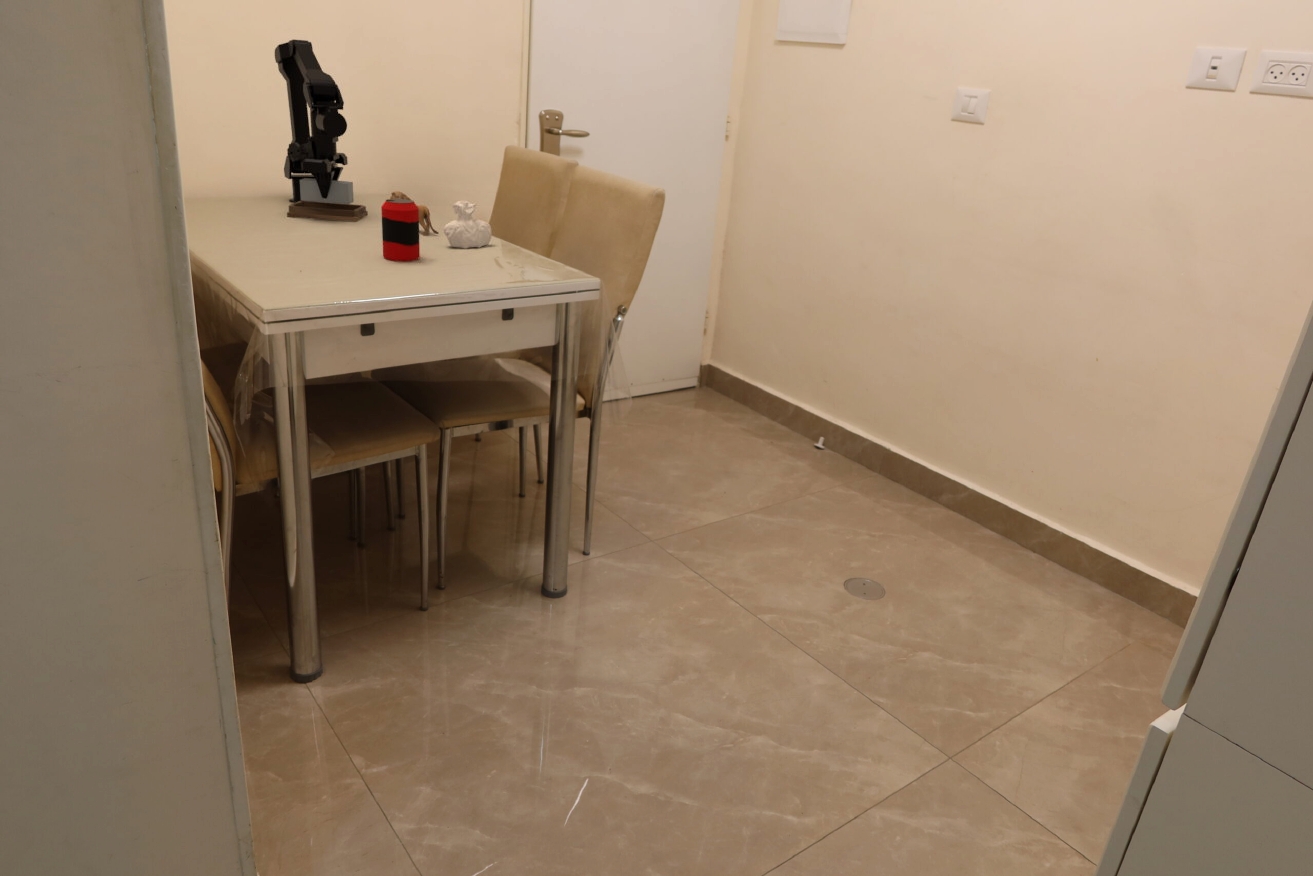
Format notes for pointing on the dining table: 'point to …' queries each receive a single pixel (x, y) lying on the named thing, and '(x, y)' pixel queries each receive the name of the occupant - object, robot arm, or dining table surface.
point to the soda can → (400, 230)
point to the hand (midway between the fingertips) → (327, 196)
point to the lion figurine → (422, 213)
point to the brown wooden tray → (327, 211)
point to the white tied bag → (467, 228)
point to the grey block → (337, 193)
